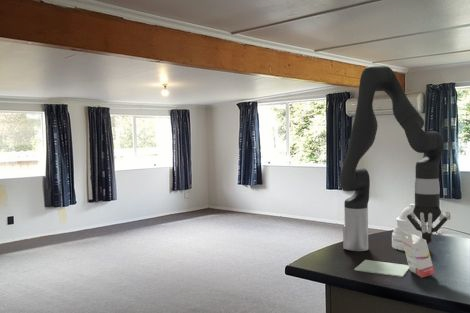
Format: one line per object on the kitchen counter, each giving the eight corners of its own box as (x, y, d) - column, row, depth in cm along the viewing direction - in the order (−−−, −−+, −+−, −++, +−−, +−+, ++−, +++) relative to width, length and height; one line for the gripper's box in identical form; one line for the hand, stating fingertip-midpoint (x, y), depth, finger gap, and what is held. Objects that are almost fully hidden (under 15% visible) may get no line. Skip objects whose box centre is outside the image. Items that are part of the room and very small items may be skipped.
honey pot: (428, 245, 184) (427, 202, 183) (422, 252, 173) (422, 207, 173) (395, 242, 191) (395, 200, 190) (388, 249, 180) (388, 205, 179)
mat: (354, 270, 153) (354, 269, 153) (365, 260, 164) (365, 259, 164) (402, 277, 145) (402, 275, 145) (410, 266, 156) (410, 265, 156)
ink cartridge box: (436, 273, 144) (424, 231, 143) (421, 278, 143) (410, 235, 142) (422, 266, 152) (411, 225, 151) (409, 270, 152) (398, 230, 151)
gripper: (403, 192, 146) (403, 244, 147) (447, 194, 139) (447, 248, 140) (408, 189, 152) (408, 239, 153) (450, 191, 145) (450, 243, 146)
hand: (427, 243), depth 147 cm, fingers closed
